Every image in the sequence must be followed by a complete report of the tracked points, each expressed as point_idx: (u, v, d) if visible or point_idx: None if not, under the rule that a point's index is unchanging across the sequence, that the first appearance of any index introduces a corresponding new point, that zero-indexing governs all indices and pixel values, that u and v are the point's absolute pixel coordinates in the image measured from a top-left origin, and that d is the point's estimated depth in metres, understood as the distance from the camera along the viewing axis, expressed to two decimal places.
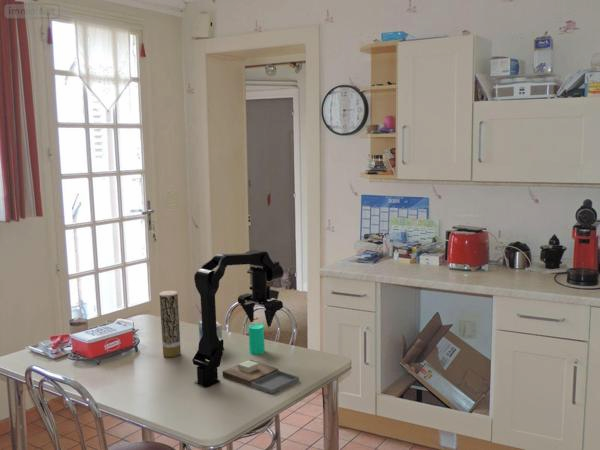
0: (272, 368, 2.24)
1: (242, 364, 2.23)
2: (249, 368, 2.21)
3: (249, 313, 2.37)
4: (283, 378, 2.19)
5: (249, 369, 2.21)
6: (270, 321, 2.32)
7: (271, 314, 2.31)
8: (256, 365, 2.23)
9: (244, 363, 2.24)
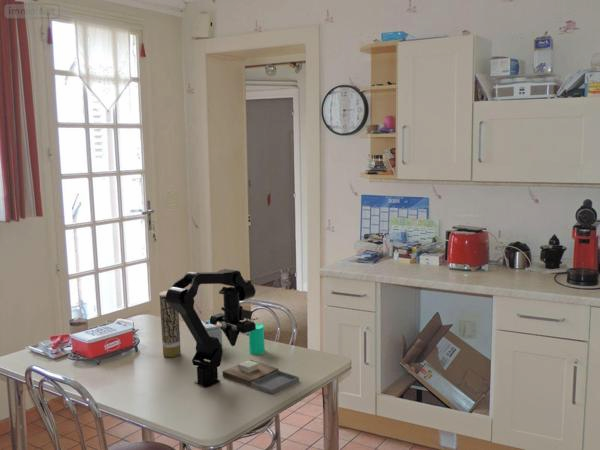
0: (272, 368, 2.24)
1: (242, 364, 2.23)
2: (249, 368, 2.21)
3: None
4: (283, 378, 2.19)
5: (249, 369, 2.21)
6: (234, 340, 2.27)
7: (235, 333, 2.26)
8: (256, 365, 2.23)
9: (244, 363, 2.24)
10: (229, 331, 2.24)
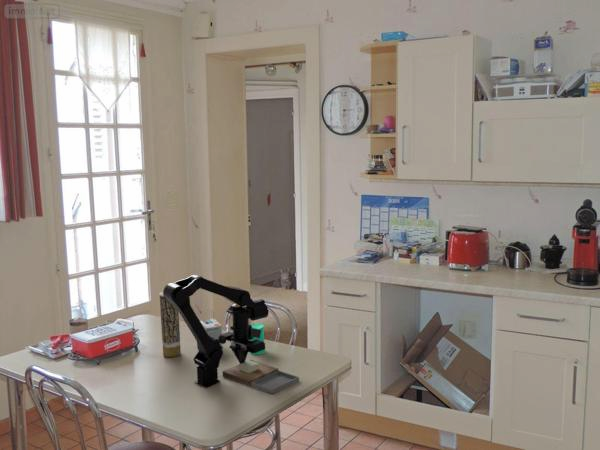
0: (272, 368, 2.24)
1: (242, 364, 2.23)
2: (249, 368, 2.21)
3: None
4: (283, 378, 2.19)
5: (249, 369, 2.21)
6: (243, 359, 2.25)
7: (244, 352, 2.24)
8: (256, 365, 2.23)
9: (244, 363, 2.24)
10: (238, 351, 2.22)
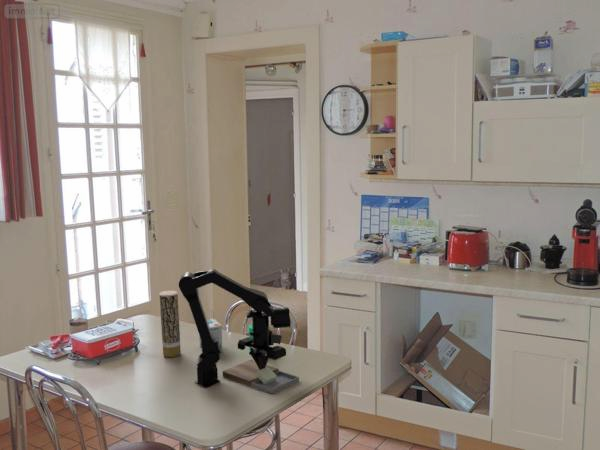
0: (272, 368, 2.24)
1: (261, 372, 2.16)
2: (267, 381, 2.14)
3: None
4: (283, 378, 2.19)
5: (267, 381, 2.14)
6: (263, 366, 2.18)
7: (264, 359, 2.18)
8: (274, 378, 2.17)
9: (263, 371, 2.17)
10: (258, 357, 2.15)
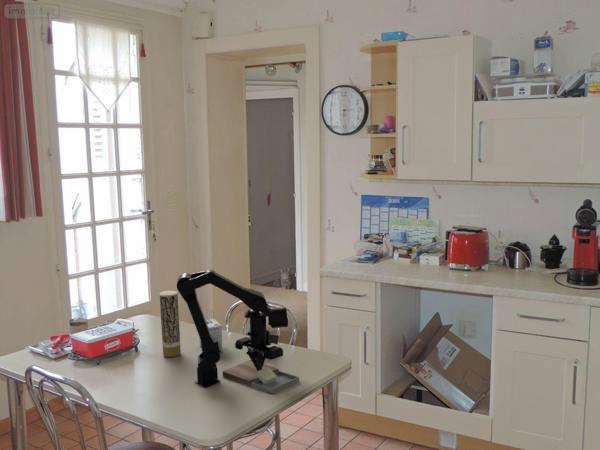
0: (272, 368, 2.24)
1: (261, 372, 2.16)
2: (267, 381, 2.14)
3: None
4: (283, 378, 2.19)
5: (267, 381, 2.14)
6: (261, 366, 2.19)
7: (262, 359, 2.18)
8: (274, 378, 2.17)
9: (263, 371, 2.17)
10: (256, 357, 2.16)
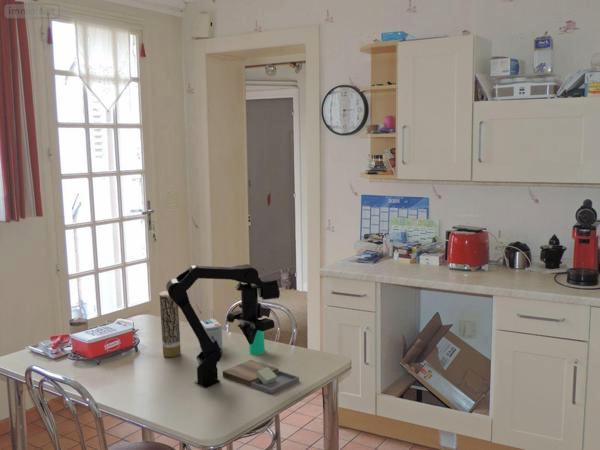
0: (272, 368, 2.24)
1: (261, 372, 2.16)
2: (267, 381, 2.14)
3: None
4: (283, 378, 2.19)
5: (267, 381, 2.14)
6: (252, 338, 2.20)
7: (253, 331, 2.19)
8: (274, 378, 2.17)
9: (263, 371, 2.17)
10: (247, 329, 2.17)
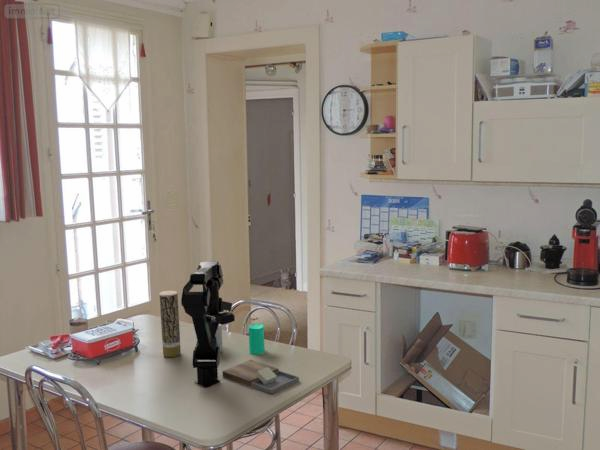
0: (272, 368, 2.24)
1: (261, 372, 2.16)
2: (267, 381, 2.14)
3: None
4: (283, 378, 2.19)
5: (267, 381, 2.14)
6: (214, 332, 2.28)
7: (215, 325, 2.27)
8: (274, 378, 2.17)
9: (263, 371, 2.17)
10: (208, 323, 2.25)
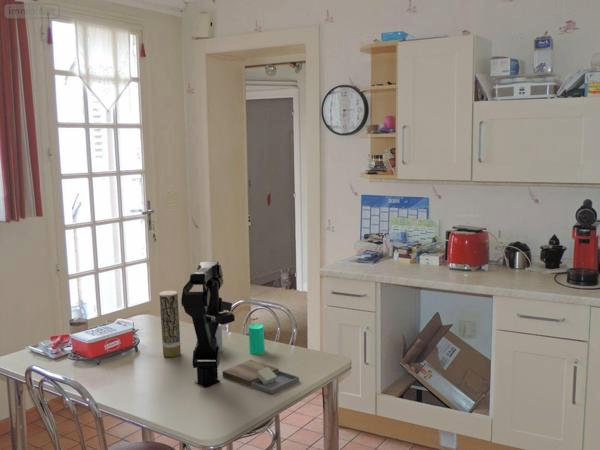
0: (272, 368, 2.24)
1: (261, 372, 2.16)
2: (267, 381, 2.14)
3: None
4: (283, 378, 2.19)
5: (267, 381, 2.14)
6: (214, 332, 2.28)
7: (215, 325, 2.27)
8: (274, 378, 2.17)
9: (263, 371, 2.17)
10: (208, 323, 2.25)
